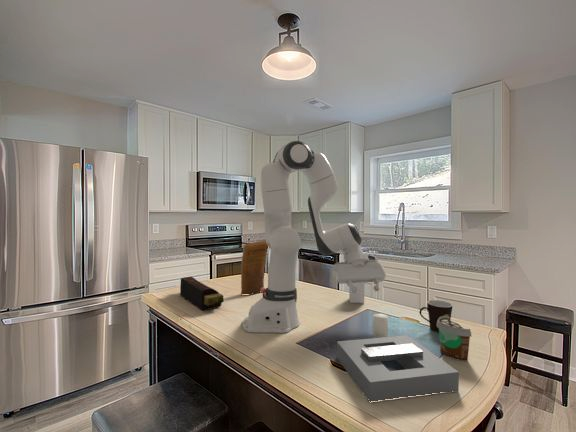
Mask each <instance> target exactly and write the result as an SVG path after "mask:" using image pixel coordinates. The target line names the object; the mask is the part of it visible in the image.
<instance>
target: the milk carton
mask: <svg viewBox="0 0 576 432" xmlns="http://www.w3.org/2000/svg"><path fill="white" fill-rule="evenodd" d="M365 283H366V282H365ZM365 283H351V284H352V285H353V286H356V289H357V292H352V290H351V289H350V288H349V287H348V288H349V289H348V290H349V291H348V292H349V300H348V301H349V303H353V304H355V303H356V304H365V288H366V287H365Z"/></svg>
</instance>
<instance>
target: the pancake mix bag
mask: <svg viewBox="0 0 576 432" xmlns="http://www.w3.org/2000/svg"><path fill="white" fill-rule="evenodd" d="M268 248H269V247H268V245H267V243H266V240H262V241H255V242H251V243H248V242H247V243H245V245H243V248H242V255H241V256H242V257H241V267H240V279H241V280H240V285H241V287H240V289H241V291H240V295H241V294H252V293H256V292H260V291H261V288H262V287H264V288H265V285H264V282H265V279H264V278H265V267H266V264H267V255H268V254H267V253H268ZM260 293H261V292H260ZM256 294H257V293H256Z"/></svg>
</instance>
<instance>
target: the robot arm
mask: <svg viewBox="0 0 576 432" xmlns="http://www.w3.org/2000/svg"><path fill="white" fill-rule="evenodd" d="M298 171H299V172H301V173H302V174H304V176H305V178H306V179H307V182H308V184H309V187H310V188H309V189H310V195H309V197H308V198H307V206H308V212H309V216H310V220H311V224H312V225H311V226H312V229H313V234H314V237H315V246H316V250H317V251H318V253H319V254H321V255H324V256H326V257H329V256H331V255H333V254H335V253H337V252H340V251H341V254H342V255H343V260H344V261H342V262H339V261H336V262H335V263H333V270H334V271H335V277H336V282H337V283H338V284H342V285H344V284H346V285H347V287H348V288H350V289H351V290H352V292H357V289H356V286H353V285H352V284H351V283H373V284H374V286H373V290H374V292H379V291H380V287H379V284H380V283H382V282H384V280H385V278H386V276H387V274H386V272H385V270H384V267H383V266H382V264H381V263H380V262H378V260H379V259H378V257H377V256H375V255H371V254H367V253H366V252H365V253H364V251H363V250H362V244H361V243H362V237H361V235H360V231H359V229H358V227H357V226H356V225H354V224H353V223H350V222H347V223H344V224H341V225H338V226H337V227H334V228H332V229H328V230H324V226H323V222H322V219H321V215H320V214H321V210H322V209H323V207H324V206H326V204H327V203H328V202H329V201H330V200H331V199H332V198H333V197H334V196H335V195H336V193H337V191H338V186H339V185H338V181H337V177H336V175H335V172H334V170H333V168H332V166H331V164H330V162H329V161H328V159H327V157H326V156H325V154H323V153H322V152H320V151H316V152H315V151H313V150H312V149H311V148H310V147H309V146H308V145H307V144H306V143H305V142H304V141H301V140H293V141H290V142H288V143H287V144H285V145H283V146H282V147H281V148H280V149H279V150H278V151H277V152H276V153H275V156H274V159H273V161H272V162H269V163H266V164H265V165H264V166H263V167H262V168H261V171H260V188H261V189H260V190H261V196H262V198H261V199H262V205H263V215H264V235H265V241H266V243H267V245H268V248H269V250H270V253H269V254H270V255H269V262H268V267H267V287H266V288H265V286H264V287H262V288H261V292H260V293H262V298H260V299H259V300H258V301H256V302H255V303H254V304H253V305H251V306H250V309H249V311H248V316H246V317H244V319H243V320H242V329H243V330H244V331H245V332H247V333H265V334H266V333H272V334H275V333H276V334H277V333H280V334H282V333H287V334H288V333H289V332H290V331H291V330H293V329H295V328H297V327H299V325H300V320H299V316H298V310H297V300H298V290H297V288H296V282H297V281H296V279H297V278H296V277H297V275H296V274H297V272H296V271H297V270H296V269H297V263H298V258H299V250H300V248H301V245H302V239H301V237H300V234H299V233H298V232H297V230H295V229H294V228H292V212H293V211H292V210H293V206H292V199H291V191H290V190H291V189H290V184H289V179H290V178H289V177H290V174H291V173H293V172H294V173H296V172H298Z"/></svg>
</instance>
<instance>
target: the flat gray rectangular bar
mask: <svg viewBox="0 0 576 432" xmlns="http://www.w3.org/2000/svg"><path fill="white" fill-rule="evenodd" d="M361 354H362V355H363V356H364V357H365V358H366V359H367V360H368V361H369V362H378V361H380V362H385V361H396V360H397V359H407V358H417V357H423V351H422V350H420V349H419V348H418V347H416V346H415V345H414V344H401V345H390V346H379V347H368V348H361Z"/></svg>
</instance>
